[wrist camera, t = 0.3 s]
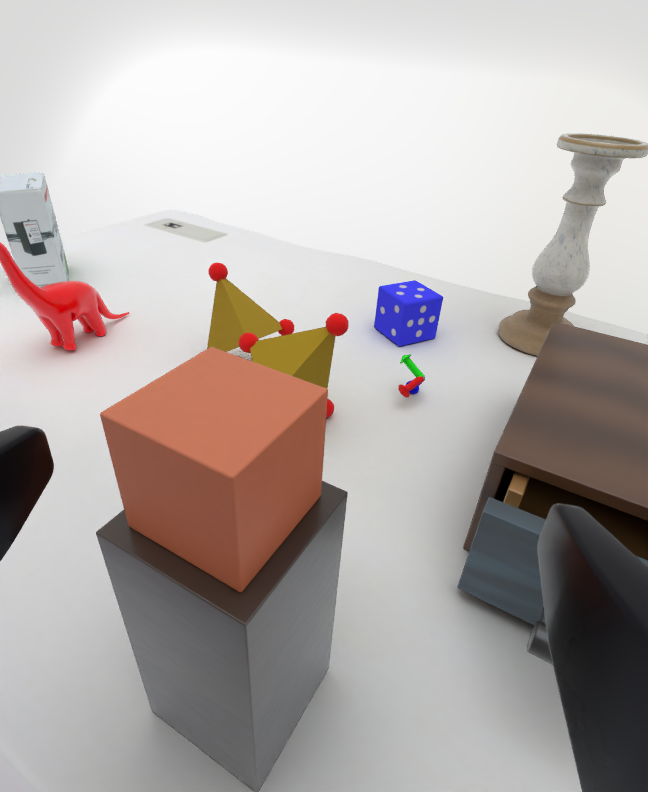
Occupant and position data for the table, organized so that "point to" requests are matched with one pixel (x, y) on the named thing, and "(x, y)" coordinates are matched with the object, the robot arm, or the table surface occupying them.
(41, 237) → the ink box
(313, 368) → the molecule model
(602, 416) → the cabinet
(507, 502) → the drawer
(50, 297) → the dinosaur
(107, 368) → the table surface
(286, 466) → the block
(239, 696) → the pedestal
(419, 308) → the die
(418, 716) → the table surface
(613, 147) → the candle holder
